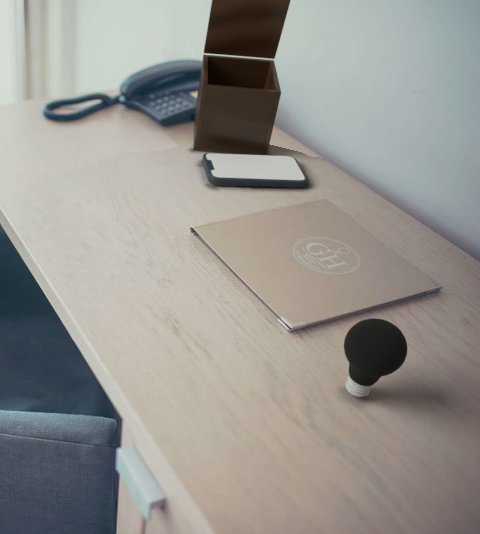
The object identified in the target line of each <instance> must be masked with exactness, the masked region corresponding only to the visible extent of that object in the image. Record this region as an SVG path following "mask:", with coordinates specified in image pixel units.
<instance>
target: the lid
mask: <svg viewBox="0 0 480 534" xmlns="http://www.w3.org/2000/svg"><path fill="white" fill-rule="evenodd" d="M290 3H291V0H211V4H210V11H209V17H208V21H207V22H208V23H207V28H206V35H205V42H204V47H203V54H207V55H219V56H232V57H244V58H256V59H269V60H275V59H276V56H277V52H278V48H279V44H280V40H281V37H282V34H283V30H284V26H285V22H286V20H287V15H288V12H289V9H290Z"/></svg>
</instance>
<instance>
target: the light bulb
mask: <svg viewBox="0 0 480 534" xmlns="http://www.w3.org/2000/svg"><path fill="white" fill-rule="evenodd" d="M343 352H344V355H345V357H346V360H347V361H348V376H347V378H346V381H345V389H346V391H347V392H348V393H349V394H350V395H352V396H354V397H358V398H364V397H366V396H368V395H369V394H370V392H371V389H372V388H373V386H374V385H376V383H377V382H378V381H379V380H380V379H381V378H382V377H386V376H390V375H391V374H393V373H395V372H396V371H397V370H399V369H400V368H401V367H402V366H403V364H404V363H405V360H406V359H407V356H408V342H407V339H406V336H405V335H404V333H403V332H402V330H401V329H400V328H399V327H398V326H397V325H395V324H394V323H392V322H390V321H389V320H385V319H384V318H383V319H382V318H366V319H362V320H360V321H358V322H356V323H355V324H353V325H352V326H351V327H350V329H348V331H347V333H346V335H345V337H344V340H343Z"/></svg>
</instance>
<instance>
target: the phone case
mask: <svg viewBox="0 0 480 534" xmlns="http://www.w3.org/2000/svg"><path fill="white" fill-rule="evenodd" d="M201 163H202V166H203V170H204V172H205V175H206V178H207V182H208V183H210V184H211V185H214V186H233V187H235V186H236V187H261V188H262V187H263V188H290V189H291V188H292V189H293V188H294V189H303V188H305V187H306V186H307V184H308V177H307V175H306V174H305V172H304V170H303V168H302V167H301V165H300V162H299V161H298V159H296V157H294V156H290V155H275V154H274V155H271V154H267V155H249V154H229V153H219V152H206V153H204V154H203V155H202V159H201Z"/></svg>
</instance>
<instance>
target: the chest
mask: <svg viewBox="0 0 480 534" xmlns="http://www.w3.org/2000/svg"><path fill="white" fill-rule="evenodd" d="M200 67H201V68H200V75H199V81H198V87H197V88H198V89H197V95H196V101H195V102H196V103H195V108H196V109H195V108H194V116H193V117H194V118H193V119H194V120H193V146H192V149H193V151H200V152H208V153H222V154H249V155H268V151H269V147H270V143H271V138H272V135H273V130H274V126H275V122H276V117H277V113H278V109H279V105H280V100H281V96H282V90H281V86H280V81H279V77H278V73H277V72H278V71H277V67H276V64H275V59H265V58H253V57H241V56H228V55H216V54H203V55H202V62H201V66H200Z"/></svg>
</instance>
